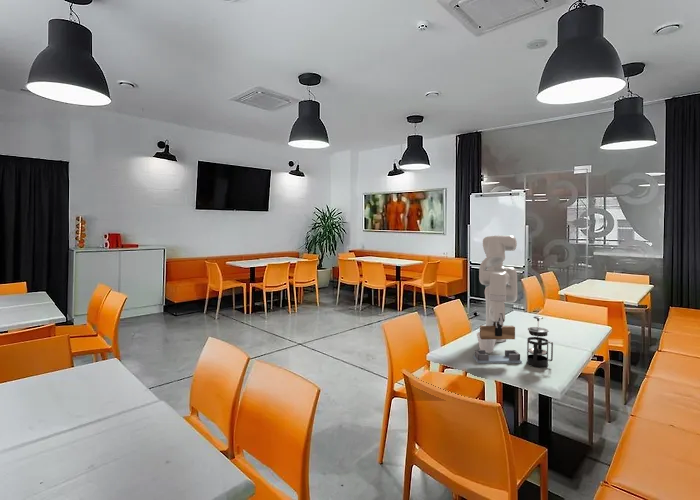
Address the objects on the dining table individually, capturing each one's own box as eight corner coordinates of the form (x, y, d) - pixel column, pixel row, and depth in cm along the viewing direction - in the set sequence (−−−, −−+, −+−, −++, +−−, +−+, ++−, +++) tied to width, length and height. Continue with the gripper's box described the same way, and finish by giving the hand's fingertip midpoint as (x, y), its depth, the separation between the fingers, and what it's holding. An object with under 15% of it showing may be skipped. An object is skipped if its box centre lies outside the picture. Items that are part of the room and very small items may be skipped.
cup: (496, 349, 207) (496, 332, 206) (497, 355, 197) (497, 337, 197) (476, 347, 210) (476, 330, 209) (476, 353, 201) (476, 336, 200)
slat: (479, 337, 191) (479, 325, 191) (512, 337, 190) (512, 325, 190) (481, 339, 188) (481, 327, 188) (514, 339, 187) (515, 327, 187)
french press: (522, 364, 184) (523, 317, 183) (527, 359, 192) (528, 313, 190) (549, 370, 177) (551, 320, 175) (554, 364, 184) (555, 316, 183)
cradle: (473, 357, 195) (473, 349, 195) (515, 357, 194) (515, 349, 194) (477, 363, 187) (477, 355, 187) (521, 363, 186) (521, 354, 186)
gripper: (484, 295, 197) (484, 330, 198) (495, 300, 180) (495, 339, 181) (499, 295, 196) (499, 330, 197) (511, 300, 180) (511, 339, 181)
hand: (497, 334), depth 189 cm, fingers closed on slat, 2 cm apart
